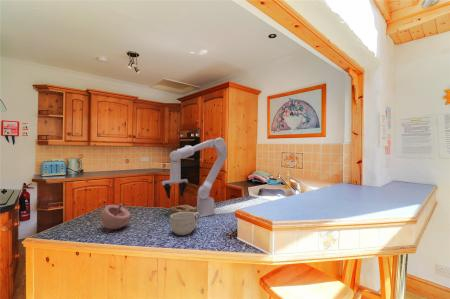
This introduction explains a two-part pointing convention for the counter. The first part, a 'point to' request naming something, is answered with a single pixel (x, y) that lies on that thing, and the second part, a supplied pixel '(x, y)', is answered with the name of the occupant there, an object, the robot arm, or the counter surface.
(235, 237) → the counter surface
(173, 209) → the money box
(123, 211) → the mortar and pestle
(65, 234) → the counter surface
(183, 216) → the teacup
